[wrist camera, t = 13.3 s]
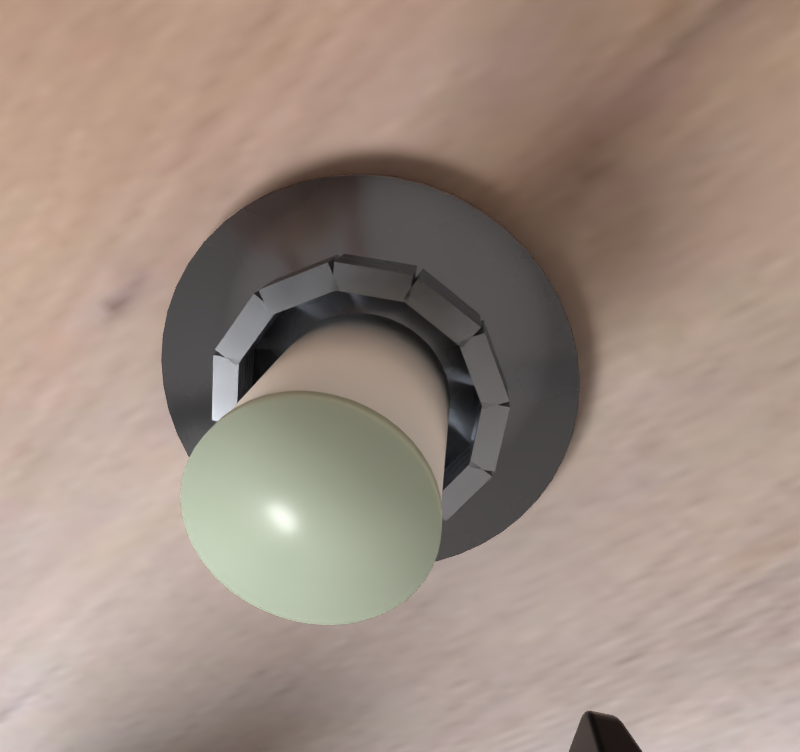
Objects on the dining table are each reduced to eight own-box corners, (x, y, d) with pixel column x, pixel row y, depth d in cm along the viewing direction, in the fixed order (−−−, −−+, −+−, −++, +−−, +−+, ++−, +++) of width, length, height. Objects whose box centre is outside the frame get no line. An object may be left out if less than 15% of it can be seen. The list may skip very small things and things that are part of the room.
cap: (352, 272, 16) (285, 341, 10) (490, 397, 16) (498, 525, 11) (241, 397, 17) (132, 517, 12) (371, 505, 18) (326, 663, 13)
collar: (624, 501, 18) (640, 537, 16) (277, 590, 21) (260, 629, 19) (496, 95, 14) (499, 88, 12) (97, 270, 17) (56, 283, 15)
